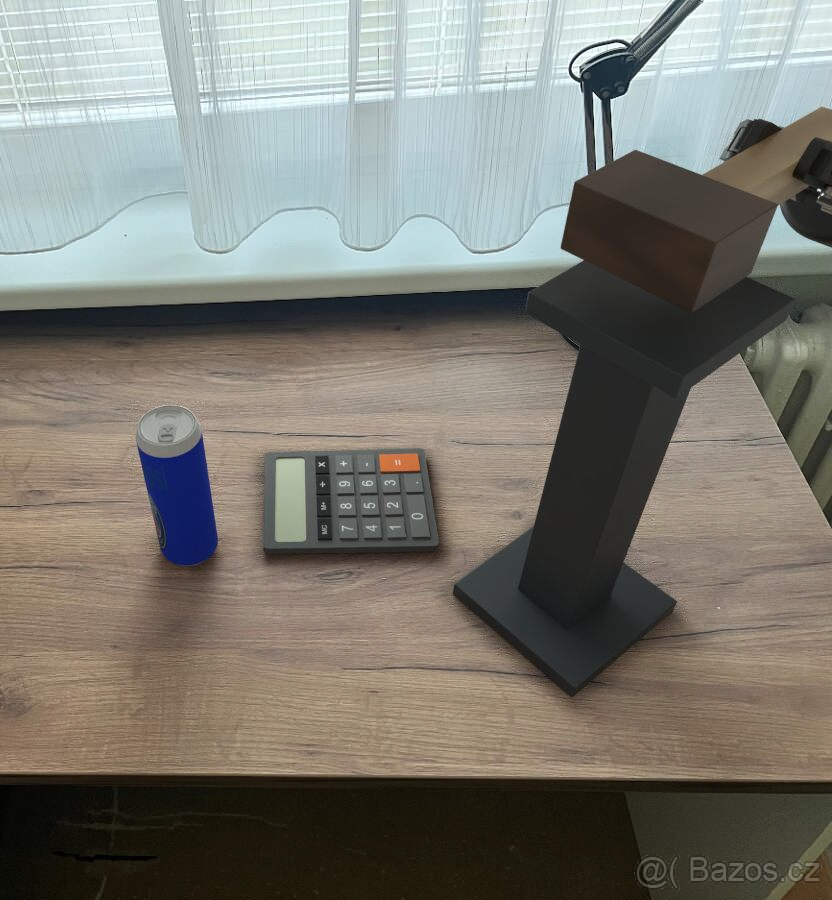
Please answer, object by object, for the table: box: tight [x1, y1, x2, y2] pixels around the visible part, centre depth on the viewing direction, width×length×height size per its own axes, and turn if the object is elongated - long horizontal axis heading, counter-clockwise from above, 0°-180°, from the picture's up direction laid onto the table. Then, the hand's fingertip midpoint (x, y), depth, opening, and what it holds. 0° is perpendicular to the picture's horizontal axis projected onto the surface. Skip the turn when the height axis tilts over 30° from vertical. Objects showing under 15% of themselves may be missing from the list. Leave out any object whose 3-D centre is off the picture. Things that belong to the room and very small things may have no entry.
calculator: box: [262, 447, 440, 555], centre depth 79 cm, size 12×1×15 cm
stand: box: [452, 259, 796, 699], centre depth 60 cm, size 12×12×30 cm
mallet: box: [560, 106, 832, 313], centre depth 47 cm, size 8×19×4 cm, turn 126°
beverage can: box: [135, 404, 219, 567], centre depth 72 cm, size 5×5×15 cm
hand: (780, 148), depth 48 cm, fingers closed on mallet, 2 cm apart
